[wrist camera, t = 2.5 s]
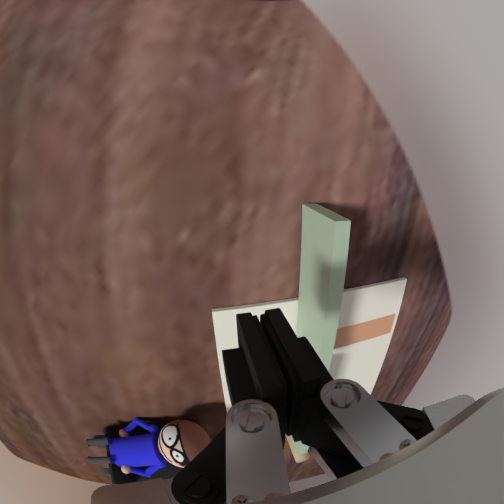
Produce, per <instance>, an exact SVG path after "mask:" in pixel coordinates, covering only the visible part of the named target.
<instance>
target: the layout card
mask: <svg viewBox="0 0 504 504" xmlns="http://www.w3.org/2000/svg"><path fill="white" fill-rule="evenodd" d="M406 282H407V278H405V277H403V278H398V279H394V280H389V281H384V282H379V283H374V284H369V285H364V286H359V287H354V288H349V289H343V296H342V303H341V310H340V316H339V322H338V327H337V333H336V338H335V344H334V349H333V354H332V359H331V363H330V368H329V373H330V375H331V376H332V378H333V379H334V380H336V379H349V380H352V381H355V382H357V383H358V384H360V385H361V386H362V387H363V388H364V389H365V390H366V391H367V392H368V393H369V394H370V395H371V392H372V390H373V387H374V385H375V382H376V380H377V377H378V375H379V372H380V369H381V367H382V364H383V361H384V358H385V356H386V353H387V350H388V347H389V344H390V341H391V337H392V334H393V331H394V328H395V324H396V321H397V317H398V314H399V310H400V306H401V303H402V299H403V295H404V290H405V286H406ZM298 300H299V297H296V298H290V299H283V300H277V301H270V302H263V303H256V304H248V305H241V306H233V307H225V308H216V309H212V315H213V323H214V331H215V338H216V346H217V353H218V360H219V367H220V374H221V380H222V386H223V393H224V399H225V405H226V411H227V412H228V411H229V409H230V408H231V407H232V405H231V401H230V396H229V391H228V387H227V382H226V376H225V370H224V364H223V356H222V350H226V349H233V348H238V335H237V323H236V314H241V313H248V312H251V314H252V316H254V315H257V317H258V319H259V321H260V315H261V314H265V310H269V309H275V308H280V309H281V311H282V312H283V314H284V316H285V317H286V319H287V321H288V322H289V324H290V326H291V327H292V329H293V331H294V332H295V334H296V328H297V315H298Z"/></svg>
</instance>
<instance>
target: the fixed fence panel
mask: <svg viewBox="0 0 504 504" xmlns="http://www.w3.org/2000/svg"><path fill="white" fill-rule="evenodd" d="M285 435H286V434H285ZM286 437H287V440H288V442H289V445H290V448H291V450H292V453H293V456H294V458H295V461H296V462H303V461H306V460H308V459H309V458H310V456H309V454H308V452H307V451H308V448H309V446H307V445H304V444H302V442H301V441H298V442H294V440H293V438H292V435H291V436H287V435H286Z"/></svg>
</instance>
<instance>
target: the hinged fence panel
mask: <svg viewBox="0 0 504 504" xmlns="http://www.w3.org/2000/svg"><path fill="white" fill-rule="evenodd" d="M350 226H351V220H349V219H347V218H345V217H343V216H341V215H339V214H337V213H335V212H333V211H331V210H329V209H327V208H325V207H323V206H320V205H318V204H316V203H314V204H302V241H301V265H300V284H299V300H298V315H297V328H296V336H297V337H303V336H304V337H306V338H307V339H308V341H309V342H310V344H311V345H312V347H313V348H314V350H315V351H316V353H317V355H318V356H319V358H320V359H321V361H322V362H323V364H324V365H325V367H326V368H327V370H328V372H329V368H330V363H331V359H332V354H333V349H334V344H335V338H336V333H337V327H338V322H339V316H340V310H341V303H342V296H343V289H344V282H345V274H346V266H347V257H348V248H349V238H350Z"/></svg>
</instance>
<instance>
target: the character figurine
mask: <svg viewBox="0 0 504 504" xmlns="http://www.w3.org/2000/svg"><path fill="white" fill-rule="evenodd" d="M138 425H140V426H141V427H143V428H145V429H147V430H148V431H144V432H137V433H130V432H131V431H132V430H133V429H134V428H136V427H137V426H138ZM129 433H130V434H129ZM104 434H105V436H104V435H93V436H90V437H89V438H90V439H87V440H86V441H85V444H87V445H88V446H91V445H94V446H98V447H106V449H107V457H88V458H87V459H86V461H88V462H89V463H109V468H98V470H99V474H100V475H106V476H111V479H112V483H113V484H126V483H133V482H140V481H146V480H152V479H157V478H162V480H164V479H169V478H173V477H175V476H176V475H177V473H179V472H180V471H181V470H182V469H183V468H184V467H185V466H186V465H187V464H188V463H190V462H191V461H192V460H193V459H194V458H195V457H196V456H197V455H198V454H199V453H200V452H201V451H202V450H203V449H204V448H205V447H206V446H207V445H208V444H209V443H210V438H209V436H208V434H207V433H206V431H205V430H204V429H203V428H202V427H201V426H199V425H198V424H196V423H195V422H192V421H189V420H175V421H172V422H170V423H168V424H167V425H165V426H164V427H163V428H162V429H159V428H158V427H157V426H156V425H149V424H148V423H146V422H144V421H142V420H141V419H139V418H135V419H134V420H133V421H132V422H131V423H130V424H129V425H128V426H127V427H125V428H124V429H120V430H119V432H116V431H113V430H110V429H108V428H104Z"/></svg>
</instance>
